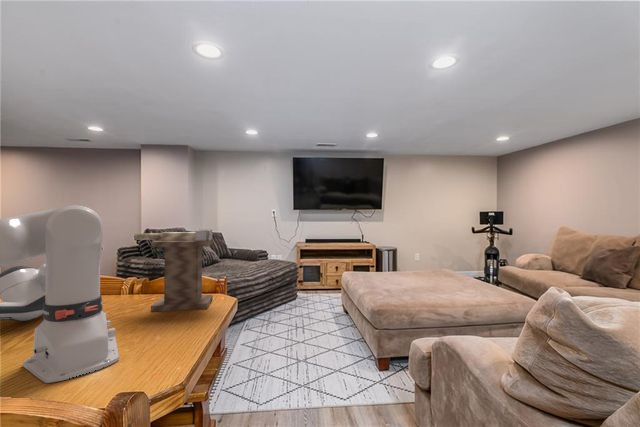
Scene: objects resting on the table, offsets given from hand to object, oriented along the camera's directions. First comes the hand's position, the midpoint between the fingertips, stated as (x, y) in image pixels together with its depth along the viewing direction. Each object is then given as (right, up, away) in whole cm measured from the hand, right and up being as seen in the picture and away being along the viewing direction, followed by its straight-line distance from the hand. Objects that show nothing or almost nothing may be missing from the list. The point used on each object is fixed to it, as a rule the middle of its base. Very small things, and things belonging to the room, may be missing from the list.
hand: (95, 249), depth 111 cm
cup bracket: (+38, +3, +7) cm, 39 cm away
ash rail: (+26, +3, +5) cm, 27 cm away
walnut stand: (+31, -23, +6) cm, 39 cm away
